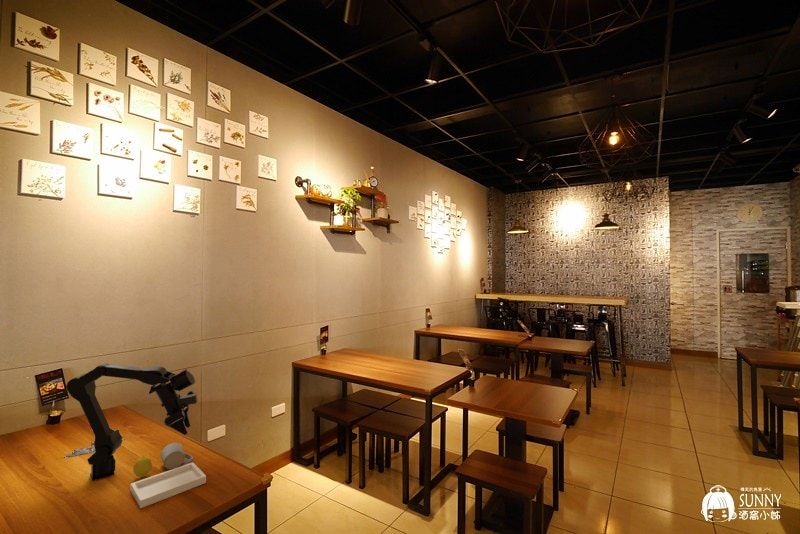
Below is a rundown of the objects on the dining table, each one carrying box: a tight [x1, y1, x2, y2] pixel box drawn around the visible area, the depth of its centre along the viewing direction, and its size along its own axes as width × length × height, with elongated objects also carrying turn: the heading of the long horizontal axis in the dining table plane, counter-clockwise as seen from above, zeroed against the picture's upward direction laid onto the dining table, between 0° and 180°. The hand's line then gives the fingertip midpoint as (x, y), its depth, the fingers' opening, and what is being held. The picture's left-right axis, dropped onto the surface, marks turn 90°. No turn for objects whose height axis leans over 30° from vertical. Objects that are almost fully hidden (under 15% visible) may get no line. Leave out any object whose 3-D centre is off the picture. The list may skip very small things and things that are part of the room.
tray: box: [130, 461, 207, 509], centre depth 130 cm, size 20×14×2 cm
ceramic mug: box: [160, 442, 194, 470], centre depth 145 cm, size 11×8×8 cm
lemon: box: [133, 455, 153, 479], centre depth 136 cm, size 6×6×8 cm
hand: (187, 430), depth 145 cm, fingers open, 9 cm apart
